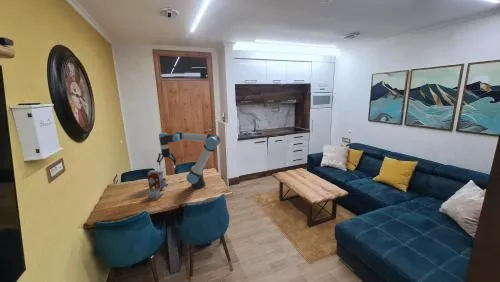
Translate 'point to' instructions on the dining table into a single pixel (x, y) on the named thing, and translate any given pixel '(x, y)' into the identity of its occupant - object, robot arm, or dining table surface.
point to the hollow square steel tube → (153, 193)
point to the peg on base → (154, 198)
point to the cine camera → (156, 179)
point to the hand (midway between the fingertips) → (168, 168)
